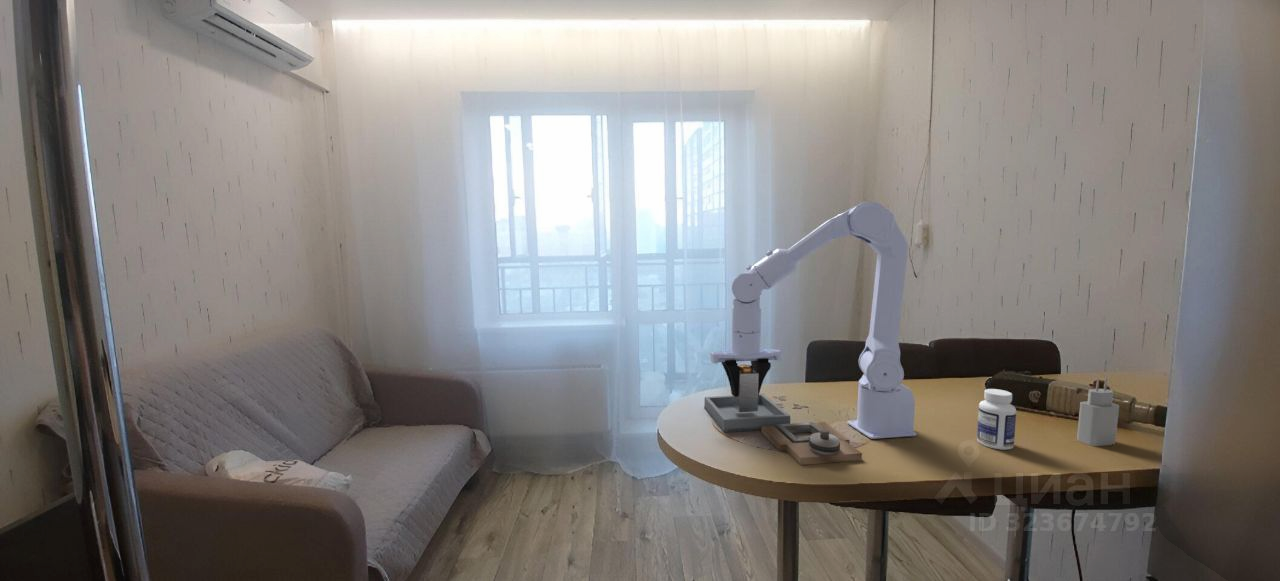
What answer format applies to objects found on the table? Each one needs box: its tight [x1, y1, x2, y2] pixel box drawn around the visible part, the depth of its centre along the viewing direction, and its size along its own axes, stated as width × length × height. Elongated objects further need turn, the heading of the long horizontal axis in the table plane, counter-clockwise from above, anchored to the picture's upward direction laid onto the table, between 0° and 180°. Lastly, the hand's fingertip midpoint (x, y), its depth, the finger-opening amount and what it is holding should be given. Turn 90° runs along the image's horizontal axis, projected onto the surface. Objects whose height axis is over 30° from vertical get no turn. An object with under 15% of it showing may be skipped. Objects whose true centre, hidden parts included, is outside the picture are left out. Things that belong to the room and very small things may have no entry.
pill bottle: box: [976, 388, 1017, 451], centre depth 85 cm, size 5×5×10 cm
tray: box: [703, 393, 791, 433], centre depth 99 cm, size 14×14×2 cm
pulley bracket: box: [760, 421, 863, 465], centre depth 85 cm, size 13×14×4 cm
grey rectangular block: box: [732, 364, 759, 412], centre depth 98 cm, size 4×4×9 cm
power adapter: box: [1076, 377, 1120, 447], centre depth 85 cm, size 3×5×12 cm, turn 101°
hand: (745, 394), depth 98 cm, fingers closed on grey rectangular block, 4 cm apart
